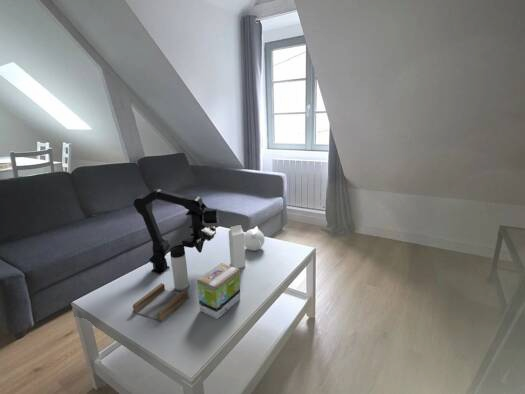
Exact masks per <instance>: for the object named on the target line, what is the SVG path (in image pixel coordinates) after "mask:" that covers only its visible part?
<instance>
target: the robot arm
mask: <svg viewBox="0 0 525 394" xmlns="http://www.w3.org/2000/svg"><path fill="white" fill-rule="evenodd" d="M155 200H161V201H164V202H168V203H172V204H175V205H179V206H181V207H183V208H184V209H186V210H188V211H187V212H186V213H185V216H189V217H190V223H191V224H190V225H189V229H191V233H190V234H189V235H190V237H185V239H183V240H182V241H181V244H182V245H183V246H184V248H190V249H193V248H195V249H196V250H197V252H198V253H199V254H201V253H202V251H203V248H204V247H203V246H204V243H205V241H207V242H210V241H211V240H212V239H214V237H215V235H216V234H217V229H216V228H217V227H215V226H207V225H206V224H219V222H220V214H219V211H218V209H217V208H214V209H212V208H211V209H208V206H207V205H206V204H205V203H204V200H203V199H202V197H200V196H196V195H183V194H182V195H181V194H178V193H175V192H171V191H167V190H164V189H161V188H155V189H154V190H152V191H150V192H149V193H148V194H142V195H140V196H139V197H137V198H136V199H134V200H133V207H134V208H135V210H136V211H137V213H139V214H140V215H141V216H142V219H143V222H144V223H145V227H146V229H147V232H148V234H149V236H150V239H151V241H152V255H151V257H149V262H150V264H152V268H153V269H151V271H150V272H152V273H155V274H160V275H161V274H163V273H164V272H166V271H167V270H168V269H169V268H170V266H168V262H167V258H166V256H167V254H168V253H169V252H170V249H171V245H170V242H169V240H168V239H164V238H163V236H162V233H161V232H160V229H159V226H158V223H157V221H156V218H155V216H154V212H153V206H154V205H153V201H155Z"/></svg>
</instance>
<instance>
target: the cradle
mask: <svg viewBox="0 0 525 394" xmlns="http://www.w3.org/2000/svg"><path fill="white" fill-rule="evenodd" d="M190 298H191V297H190V296H189V291H188V289H186V290H183V291H180V292H179V293H178V292H174V291H171V290H168V289H166V288H165V284H164V283H162V282H161V283H159V284H158V285H157V286H155V287H154V288H153V289H152V290H150V291H149V292H148V293H146V294H145V295H144V296H142V297H141V298H140V299H138V300H137V301H136V302H134V303H133V304H132V312H133V313H136V314H138V315H141V316H144V317H147V318H150V319H153V320H155V321H159V322H162V323H165V322H166V321H167V320H168V319H169V318H170V317H171V316H172V315H174V313H176V311H177V310H178V309H180V308H181V306H183V305H184V304H185V303H186V302H187V301H188V300H189V299H190Z"/></svg>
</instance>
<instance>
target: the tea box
mask: <svg viewBox="0 0 525 394" xmlns="http://www.w3.org/2000/svg"><path fill="white" fill-rule="evenodd" d="M240 274H241V273H240V268H238V269H237V268H234V267H232V265H228V264H225V263H222V262H221V263H220V264H218V265H217V266H215V267H214V268H212V269H211V270H209V271H208V272H206V273H205V274H204V275H202V276H201V277H199V278H198V279H197V292H198V307H199V311H200V312H202V313H204V314H206V315H208V316H210V317H212V318H214V319H216V320H218V319H219V318H221V316H222V315H224V314H225V313H226V312H227V311H228V310H229V309H230V308H231V307H233V306H234V305H235V304H236V303H237V302H238V301H240V300H241V275H240Z"/></svg>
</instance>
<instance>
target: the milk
mask: <svg viewBox="0 0 525 394" xmlns="http://www.w3.org/2000/svg"><path fill="white" fill-rule="evenodd" d="M244 234H245V232H244V230H243V227H242V225H241V224H240V225H235V226H230V228H229V230H228V244H229V245H228V246H229V258H230V266H231V267H234V268H237V269H241V268H245V267H246V253H245V252H246V251H245V248H246V247H245V245H244Z"/></svg>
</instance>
